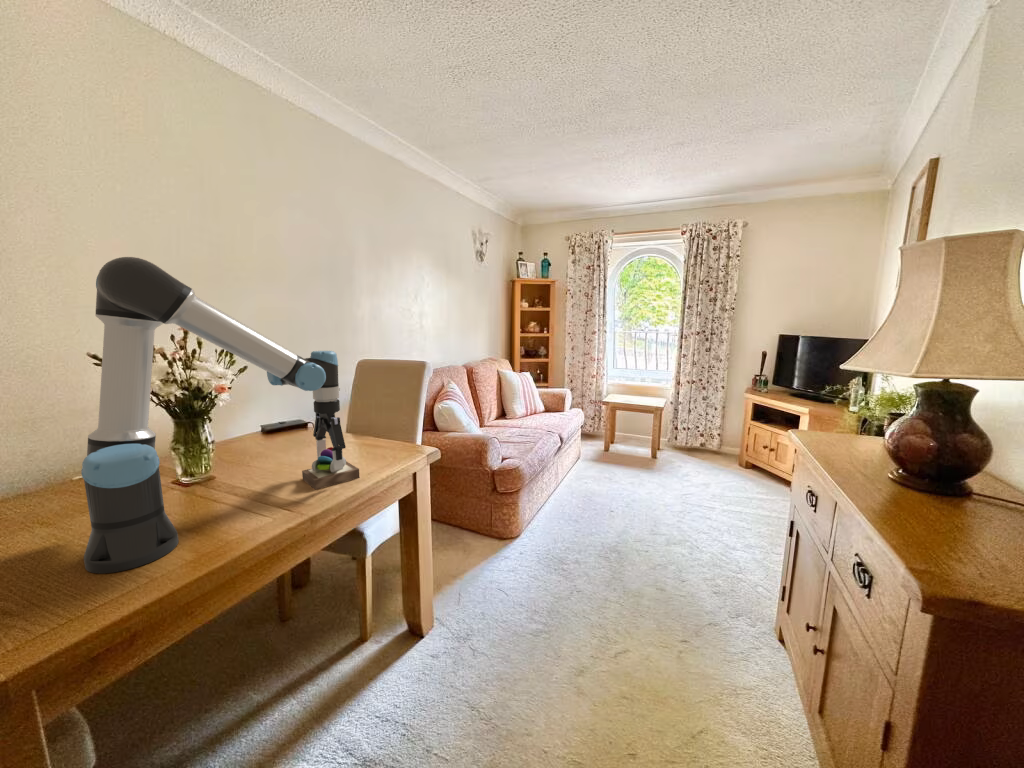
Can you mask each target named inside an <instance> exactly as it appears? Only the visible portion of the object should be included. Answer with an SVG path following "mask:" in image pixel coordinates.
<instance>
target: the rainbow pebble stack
mask: <svg viewBox="0 0 1024 768" xmlns="http://www.w3.org/2000/svg"><path fill="white" fill-rule="evenodd" d="M332 449H333V446H330V447H326V449H325V450H323V451H322V452H321V456H320V457H318V459H315V460H314V461H313V462H312V464H311V469H312V470H313V471H315V472H319V471H320V470H329V469H330V471H331V472H332V473H335V472H337V471H338V470H335V471H334V469H333V451H332ZM346 459H347V458H346V457H344V456H343V467H344V466H345V465H346V462H347V460H346Z"/></svg>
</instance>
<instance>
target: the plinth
mask: <svg viewBox="0 0 1024 768" xmlns="http://www.w3.org/2000/svg"><path fill="white" fill-rule="evenodd" d="M301 473H302V475H301V477H302V480H303V481H304V482H305V483H306V484H308V485H309V486H310V487H311V488H313V489H314V490H319V489H323V488H327V487H330V486H333V485H338V484H342V483H345V482H349V481H353V480H357V479H360V468H358V467H356V466H355V465H354V464H352V463H349V462H348V461H346V465H345V466H344V467H343V469H339V470H338V471H337V472H335V473H332V472H331V471H330V469H329V470H320V471H319V472H315V471H313V470H312V468H308V469H305V470H301Z"/></svg>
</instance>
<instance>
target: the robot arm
mask: <svg viewBox="0 0 1024 768" xmlns="http://www.w3.org/2000/svg"><path fill="white" fill-rule="evenodd" d="M95 287H96V299H95V317H96V318H98V320H100V321H101V323H103V325H104V326H103V329H104V330H103V340H102V341H103V342H102V343H103V344H102V355H101V356H102V358H101V359H102V361H101V373H100V375H101V376H100V389H99V390H100V391H99V404H98V405H99V407H98V409H99V410H98V425H97V428H96V429H95V430H94V431H93V432H91V433H89V434H88V435H87V446H86V447H87V448H86V449H87V451H86V456H85V457H84V459H83V460H82V463H81V465H82V468H81V478H82V480H83V483H84V489H85V495H86V500H87V502H86V503H87V508H88V512H89V513H88V515H89V520H90V526H91V531H90V535H89V538H88V541H87V545H86V549H85V551H84V554H83V555H84V556H83V562H84V563H83V564H84V569H85V570H86V571H87V572H89V573H92V574H112V573H118V572H123V571H126V570H127V571H128V570H131V569H135V568H138V567H141V566H144V565H146V564H149V563H151V562H153V561H154V562H155V561H156V560H158V559H160V558H163V557H164V556H165V555H168V554H169V553H171V552H172V551H173V550H174V549H175V548H176V547H177V546H178V544H179V533H178V531H177V529H176V528H175V525H174V524H173V522H172V521H171V520H170V518H169V515H168V514H167V513H166V510H165V504H164V497H163V488H162V481H161V471H160V457H159V455H158V452H157V450H156V437H157V436H156V435H157V433H156V432H155V431H153V430H152V429H151V428H149V419H150V418H149V417H150V405H151V404H150V403H151V402H150V401H151V387H152V375H153V361H154V360H153V358H154V344H155V331H156V329H157V328H158V327H160V326H161V325H163V324H165V325H169V324H170V325H171V324H174V325H175V326H178V327H180V328H182V329H184V330H186V331H188V332H190V333H192V334H193V335H196V336H197V337H199V338H201V339H203V340H205V341H207V342H209V343H211V344H214V345H215V346H217V347H219V348H221V349H223V350H225V351H226V352H229V353H231V354H232V355H234V356H237V357H238V358H240V359H242V360H245V361H246V362H248V363H250V364H252V365H254V366H256V367H258V368H260V369H262V370H264V371H266V375H267V376H266V377H267V380H268V383H269V384H270V385H272V386H281V387H282V386H285V385H287V386H293V387H295V388H298V389H300V390H303V391H305V392H312V399H313V400H314V401H313V412H314V413H315V420H314V427H313V435H312V436H313V437H314V438H315V440H316V458H317V459H316V460H318V457H320V456H321V452H322V451H323V450H325V449H327V443H326V439H327V436H326V433H328V436H329V438H330V442H331V445H332V447H333V449H332V451H333V469H334V471H335V470H339V469H343V457H344V456H343V450H344V449H346V447H347V446H346V442H345V439H344V434H343V430H342V426H341V417H337V416H336V413H338V412H339V411H340V410H341V409H340V408H341V406H340V403H341V402H340V400H339V398H340V391H341V388H340V387H339V384H340V383H339V359H338V355H337V352H335V351H334V350H314V351H310V357H306V358H304V357H302V356H300V355H298V354H297V353H295V352H294V351H292V350H290V349H288V348H287V347H284V346H283V345H281V344H279V343H278V342H276V341H274V340H272V339H271V338H269V337H268V336H266V335H264V334H262V333H260V332H258V331H257V330H255V329H253V328H252V327H250V326H248V325H246V324H245V323H243V322H242V321H240V320H239V319H236V318H234V317H232V316H231V315H229V314H228V313H226V312H224V311H222V310H220V309H219V308H217V307H216V306H213V305H212V304H210V303H208V302H207V301H204V300H203V299H202V298H200V297H198V296H196V295H195V290H194V289H193V288H192V287H190V286H188V285H186V284H185V283H183V282H181V281H180V280H178V279H177V278H176V277H174V276H172V275H171V274H169V273H168V272H166V270H164V269H162V268H161V267H160V266H158V265H156V264H154V263H153V262H151V261H148V260H146V259H143V258H141V257H135V256H134V257H133V256H123V257H117V258H114V259H111V260H109V261H108V262H106V263H105V264H104V265H103V266H102V267H101V269H100V270H99V271H98V275H97V277H96V280H95Z"/></svg>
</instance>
